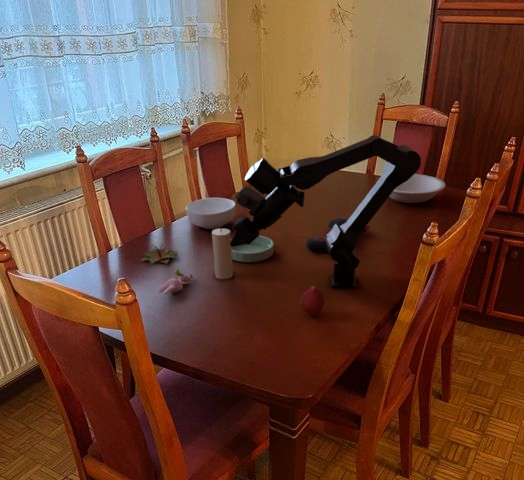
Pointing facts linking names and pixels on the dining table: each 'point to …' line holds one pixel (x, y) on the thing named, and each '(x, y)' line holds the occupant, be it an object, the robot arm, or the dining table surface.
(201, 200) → the cereal bowl
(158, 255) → the lily flower
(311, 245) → the toy motorcycle
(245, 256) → the candle dish
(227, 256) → the candle
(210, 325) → the dining table surface
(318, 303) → the onion
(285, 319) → the dining table surface
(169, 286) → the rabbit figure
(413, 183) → the soup bowl
